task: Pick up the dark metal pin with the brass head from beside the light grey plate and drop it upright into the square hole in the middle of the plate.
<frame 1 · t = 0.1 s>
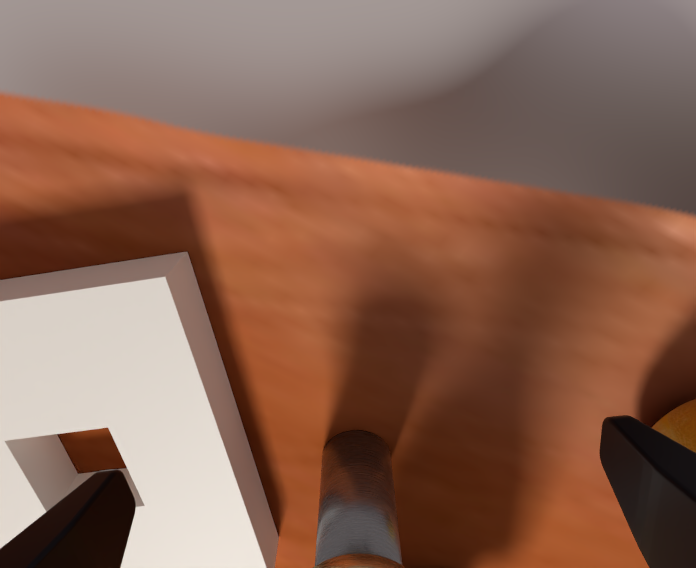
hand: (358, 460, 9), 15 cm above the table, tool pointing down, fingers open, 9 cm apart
metal pin: (356, 456, 28), on the table
fruit: (686, 427, 27), on the table
hole plate: (104, 433, 27), on the table
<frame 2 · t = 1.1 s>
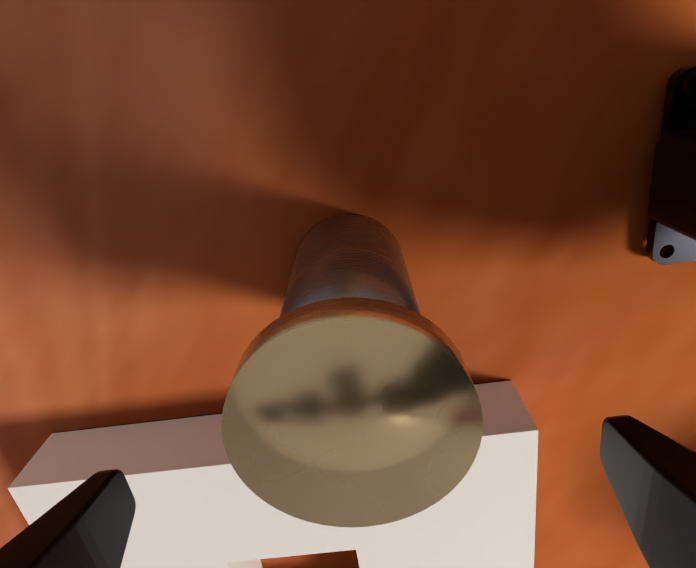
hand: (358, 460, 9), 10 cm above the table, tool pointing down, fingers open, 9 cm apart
metal pin: (349, 266, 18), on the table
hole plate: (307, 536, 24), on the table
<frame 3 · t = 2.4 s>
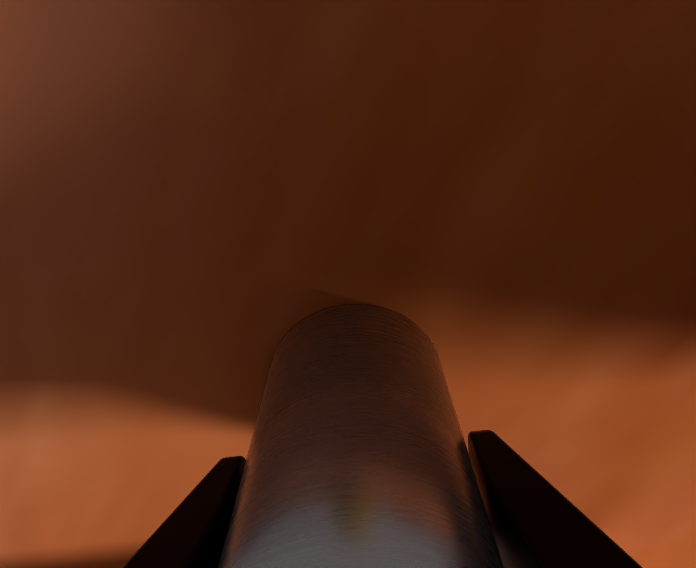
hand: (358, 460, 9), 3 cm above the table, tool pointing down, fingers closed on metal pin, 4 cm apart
metal pin: (355, 380, 11), on the table, touching gripper
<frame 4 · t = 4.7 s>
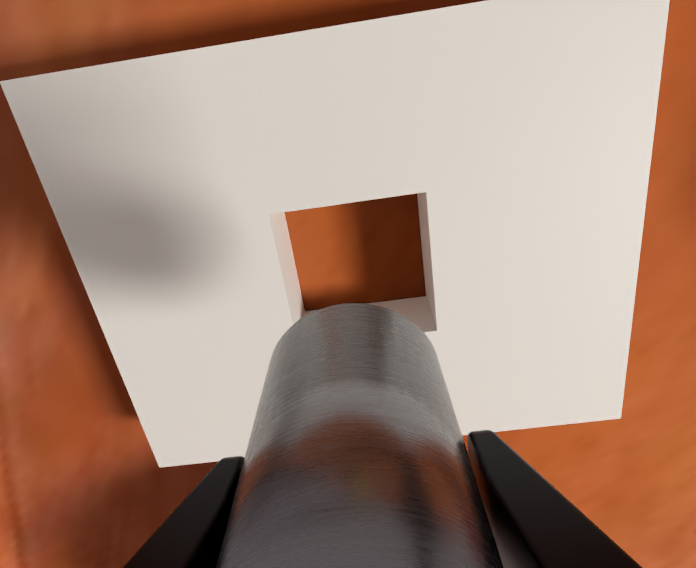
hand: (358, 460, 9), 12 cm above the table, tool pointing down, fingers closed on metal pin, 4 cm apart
metal pin: (354, 379, 11), point 10 cm above the table, touching gripper
hole plate: (356, 246, 20), on the table
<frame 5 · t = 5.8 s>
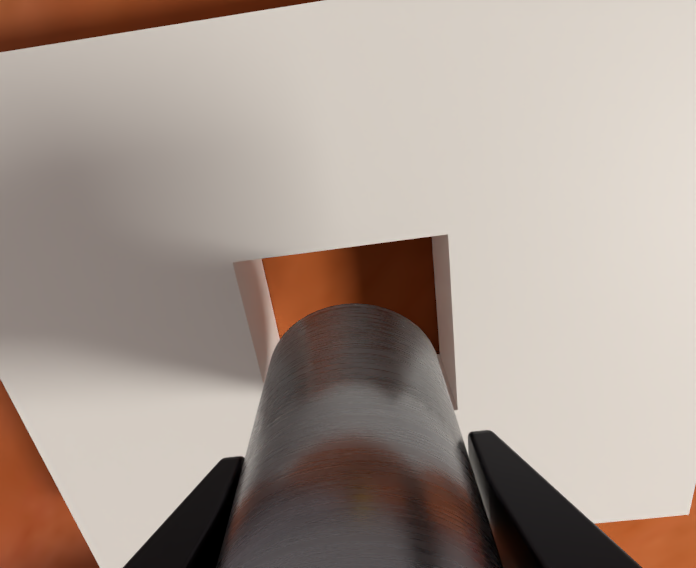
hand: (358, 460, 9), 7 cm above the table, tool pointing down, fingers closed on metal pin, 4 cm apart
metal pin: (354, 380, 11), point 5 cm above the table, touching gripper
hole plate: (352, 293, 16), on the table
when the fingers open (4 cm above the table, at t = 6.9 s): metal pin drops 1 cm, resting in hole plate.
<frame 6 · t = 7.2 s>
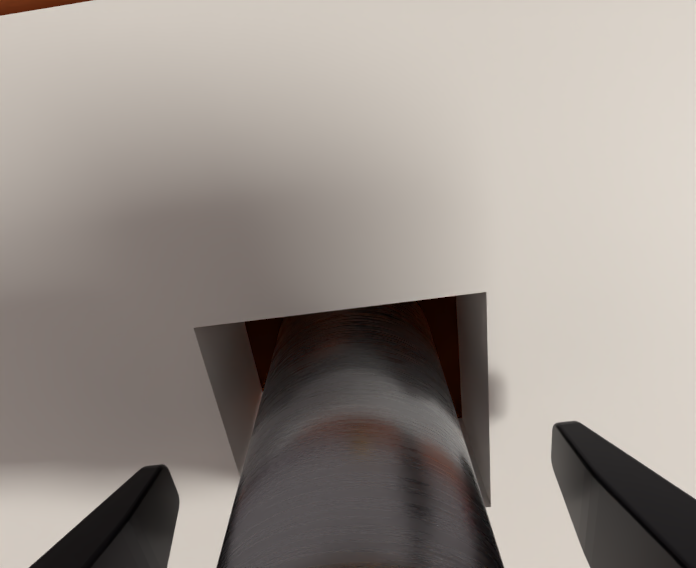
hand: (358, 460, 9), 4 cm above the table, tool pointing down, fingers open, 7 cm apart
metal pin: (354, 345, 13), resting in hole plate
hole plate: (354, 347, 13), on the table
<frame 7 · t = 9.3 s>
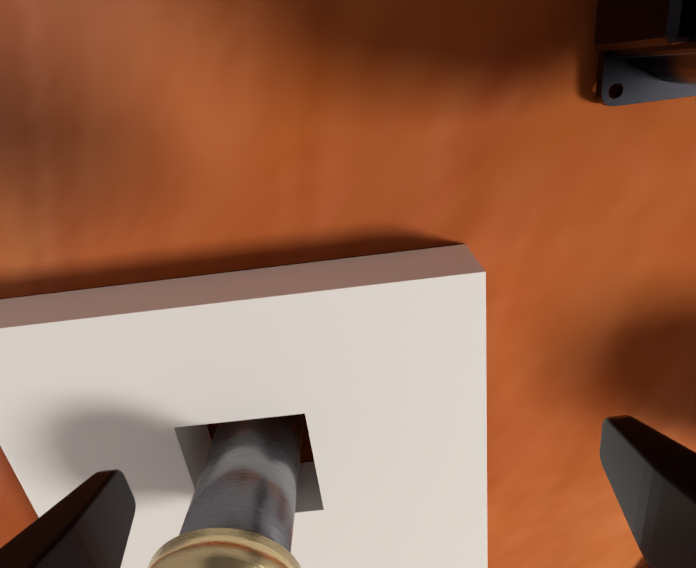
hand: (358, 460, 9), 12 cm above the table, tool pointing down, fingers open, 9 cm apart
metal pin: (262, 422, 23), resting in hole plate
hole plate: (262, 423, 23), on the table
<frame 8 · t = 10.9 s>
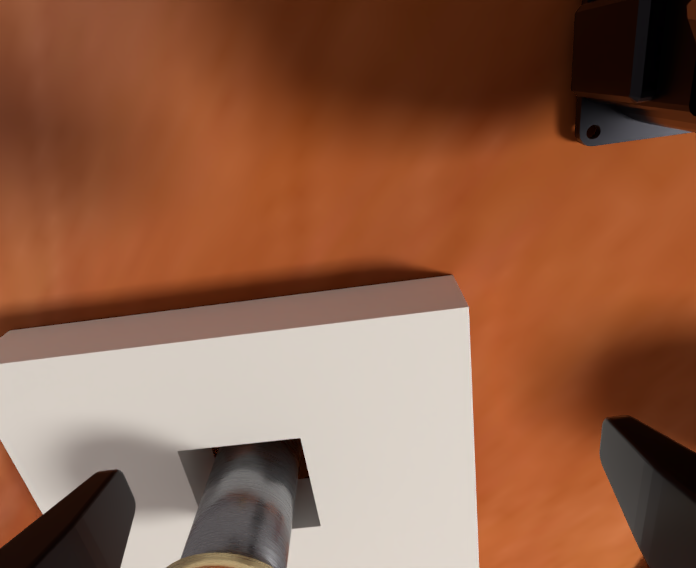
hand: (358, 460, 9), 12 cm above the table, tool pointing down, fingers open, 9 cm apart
metal pin: (263, 441, 24), resting in hole plate
hole plate: (263, 442, 24), on the table
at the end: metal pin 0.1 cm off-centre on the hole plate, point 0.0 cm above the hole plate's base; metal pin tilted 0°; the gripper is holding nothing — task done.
